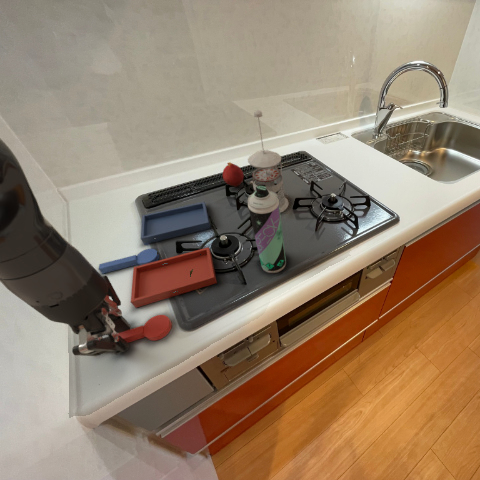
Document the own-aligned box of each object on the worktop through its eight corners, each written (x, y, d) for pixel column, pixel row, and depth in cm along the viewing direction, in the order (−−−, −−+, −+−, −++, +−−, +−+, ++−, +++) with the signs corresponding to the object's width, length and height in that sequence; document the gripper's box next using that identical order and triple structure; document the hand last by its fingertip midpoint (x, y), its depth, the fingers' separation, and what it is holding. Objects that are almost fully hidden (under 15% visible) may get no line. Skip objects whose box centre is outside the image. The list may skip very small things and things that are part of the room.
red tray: (135, 307, 52) (130, 302, 51) (137, 273, 58) (133, 267, 57) (216, 283, 56) (214, 277, 55) (211, 253, 62) (208, 247, 61)
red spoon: (99, 360, 45) (94, 356, 44) (103, 336, 48) (98, 332, 47) (172, 335, 48) (168, 330, 47) (171, 314, 51) (168, 310, 50)
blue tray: (144, 244, 64) (140, 238, 63) (145, 221, 70) (142, 215, 69) (210, 228, 68) (208, 222, 67) (206, 207, 74) (204, 201, 73)
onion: (236, 178, 85) (231, 155, 79) (249, 185, 82) (244, 161, 77) (222, 187, 81) (215, 163, 76) (235, 194, 79) (228, 169, 73)
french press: (246, 210, 74) (224, 115, 56) (266, 187, 81) (253, 98, 64) (279, 218, 71) (266, 121, 54) (296, 194, 79) (291, 103, 61)
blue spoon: (101, 278, 57) (97, 274, 56) (104, 264, 60) (100, 259, 59) (159, 263, 60) (156, 258, 59) (159, 249, 63) (156, 245, 62)
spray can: (258, 258, 61) (241, 182, 47) (281, 251, 63) (271, 176, 49) (265, 276, 58) (248, 199, 44) (289, 268, 59) (280, 192, 45)
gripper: (38, 250, 39) (104, 313, 51) (0, 338, 29) (92, 389, 42) (98, 236, 41) (148, 300, 53) (81, 314, 32) (146, 369, 44)
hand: (123, 339), depth 47 cm, fingers open, 3 cm apart
